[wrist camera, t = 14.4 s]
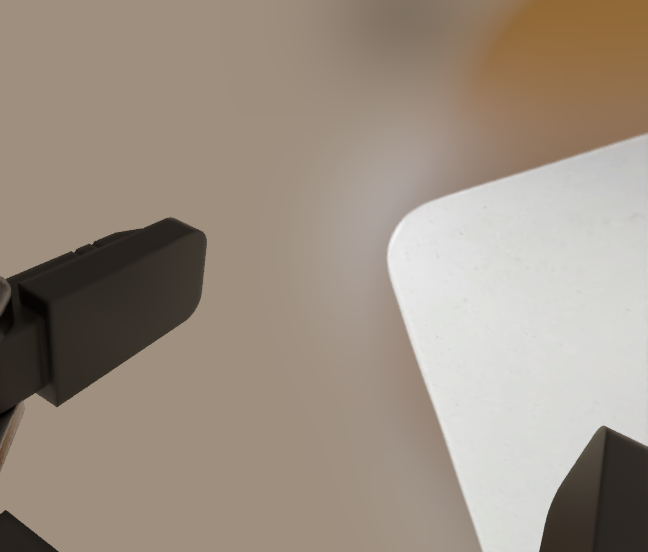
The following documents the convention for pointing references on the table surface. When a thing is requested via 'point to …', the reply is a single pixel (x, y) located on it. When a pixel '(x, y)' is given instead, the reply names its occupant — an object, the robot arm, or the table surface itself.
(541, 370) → the table surface
